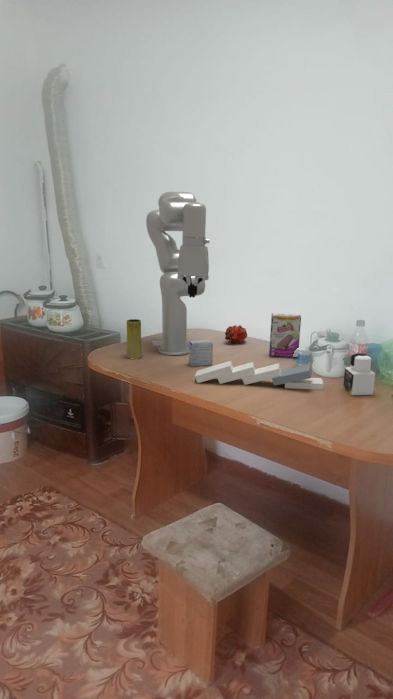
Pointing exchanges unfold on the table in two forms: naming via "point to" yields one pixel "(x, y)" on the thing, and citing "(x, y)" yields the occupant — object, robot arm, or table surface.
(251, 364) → the domino
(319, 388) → the domino
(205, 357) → the medicine box
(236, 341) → the dragon fruit
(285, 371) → the domino
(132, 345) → the vase
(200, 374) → the domino
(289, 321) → the candy bar box
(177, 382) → the table surface
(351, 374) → the medicine bottle
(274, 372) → the domino
